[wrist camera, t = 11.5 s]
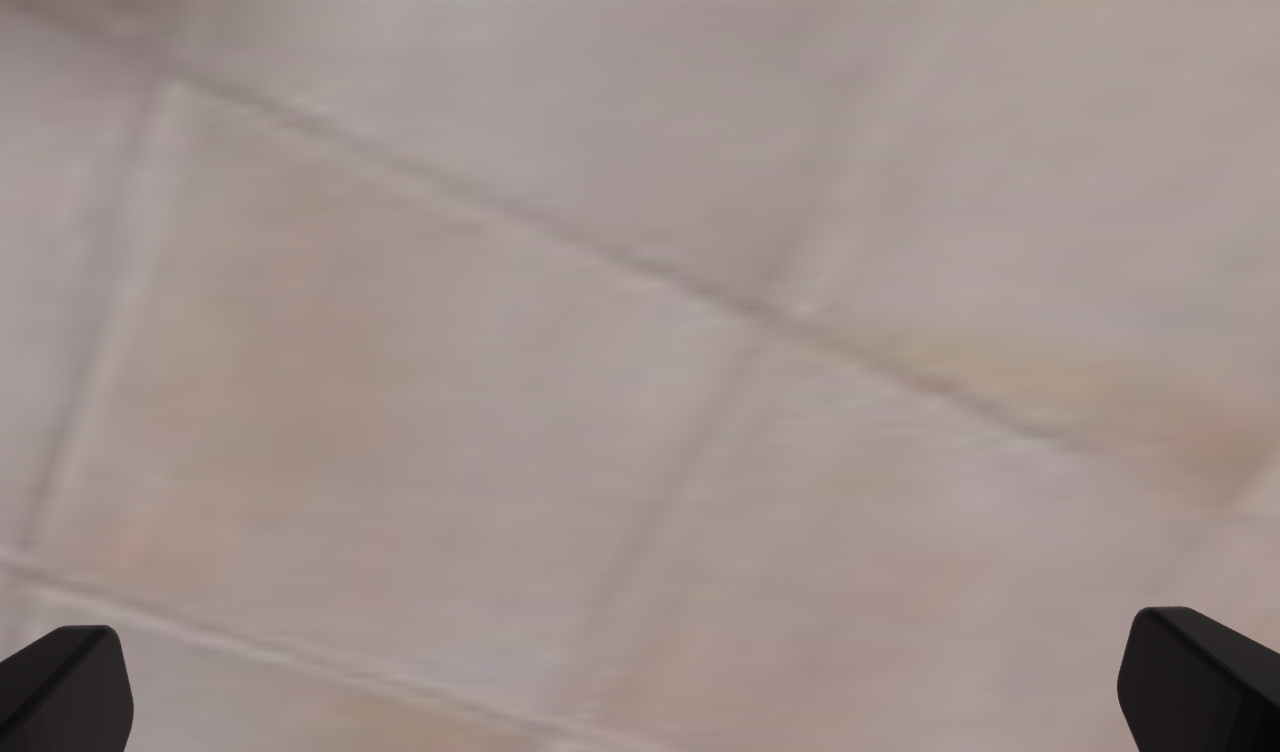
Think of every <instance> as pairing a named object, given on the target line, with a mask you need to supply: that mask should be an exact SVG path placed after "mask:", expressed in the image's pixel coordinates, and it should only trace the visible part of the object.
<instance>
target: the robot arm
mask: <svg viewBox="0 0 1280 752" xmlns="http://www.w3.org/2000/svg"><path fill="white" fill-rule="evenodd" d="M1117 693H1118V699H1119V703H1120V706H1121V709H1122V712H1123V714H1124V716H1125V719H1126V721H1127V724H1128V726H1129V728H1130V731H1131V733H1132V735H1133V738H1134V740H1135V743H1136V745H1137V747H1138V750H1139V752H1280V654H1279V653H1277V652H1275V651H1273V650H1271V649H1269V648H1267V647H1265V646H1263V645H1261V644H1260V643H1258V642H1256V641H1254V640H1252V639H1250V638H1248V637H1246V636H1244V635H1242V634H1240V633H1238V632H1236V631H1234V630H1232V629H1230V628H1228V627H1226V626H1224V625H1222V624H1221V623H1219V622H1217V621H1215V620H1213V619H1211V618H1209V617H1207V616H1205V615H1203V614H1201V613H1199V612H1197V611H1195V610H1193V609H1191V608H1187V607H1182V606H1174V607H1146V608H1144V609H1142V610H1140V611H1139V612H1138V613H1137V614H1136V616H1135V617H1134V620H1133V623H1132V626H1131V630H1130V634H1129V637H1128V641H1127V645H1126V649H1125V652H1124V656H1123V660H1122V663H1121V667H1120V671H1119V675H1118V680H1117ZM133 713H134V705H133V697H132V693H131V688H130V684H129V679H128V675H127V670H126V666H125V661H124V657H123V652H122V648H121V643H120V640H119V637H118V635H117V633H116V631H115V630H114V629H113V628H111V627H109V626H107V625H71V626H63V627H59V628H57V629H55V630H53V631H52V632H50V633H48V634H47V635H45V636H43V637H42V638H40V639H38V640H37V641H35V642H33V643H32V644H30V645H28V646H27V647H25V648H23V649H22V650H20V651H18V652H17V653H15V654H13V655H12V656H10V657H8V658H7V659H5V660H3V661H2V662H0V752H124V749H125V746H126V743H127V740H128V737H129V734H130V731H131V727H132V722H133Z"/></svg>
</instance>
